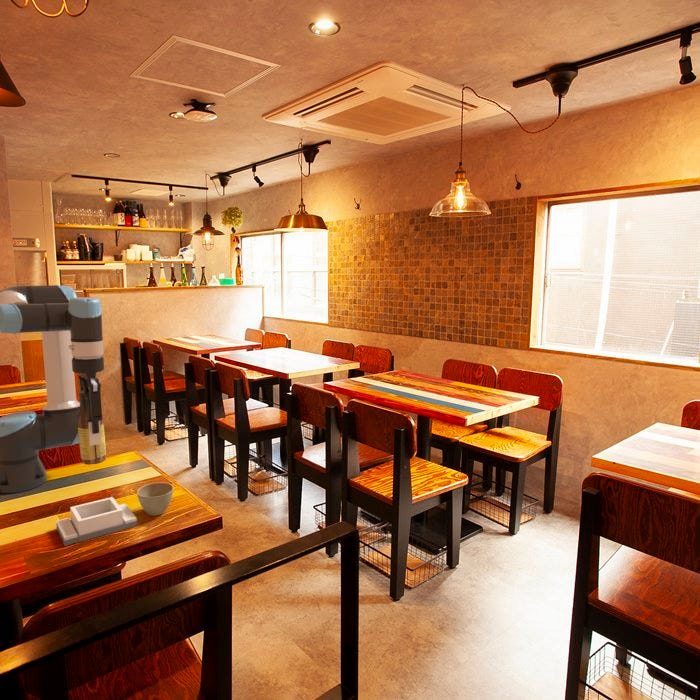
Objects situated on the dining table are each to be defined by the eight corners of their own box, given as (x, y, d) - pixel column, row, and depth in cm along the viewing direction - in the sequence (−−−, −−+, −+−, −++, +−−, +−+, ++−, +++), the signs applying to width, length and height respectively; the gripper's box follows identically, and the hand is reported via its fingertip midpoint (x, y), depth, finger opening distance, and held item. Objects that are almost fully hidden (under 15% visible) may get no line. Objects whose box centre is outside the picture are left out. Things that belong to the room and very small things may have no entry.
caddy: (56, 528, 141) (55, 509, 140) (125, 510, 152) (124, 493, 151) (64, 546, 133) (63, 526, 132) (137, 525, 144) (136, 507, 143)
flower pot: (139, 506, 155) (138, 484, 154) (174, 502, 158) (173, 480, 157) (136, 522, 146) (135, 498, 145) (173, 518, 149) (173, 494, 148)
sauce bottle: (103, 455, 144) (100, 386, 141) (108, 462, 139) (105, 391, 136) (77, 460, 140) (73, 389, 137) (81, 467, 135) (77, 394, 132)
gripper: (64, 352, 140) (69, 434, 143) (80, 363, 125) (85, 454, 129) (94, 350, 145) (98, 429, 148) (113, 360, 130) (116, 448, 133)
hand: (92, 440), depth 138 cm, fingers closed on sauce bottle, 6 cm apart
